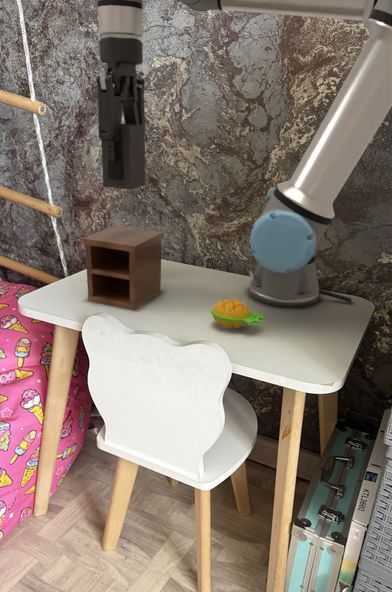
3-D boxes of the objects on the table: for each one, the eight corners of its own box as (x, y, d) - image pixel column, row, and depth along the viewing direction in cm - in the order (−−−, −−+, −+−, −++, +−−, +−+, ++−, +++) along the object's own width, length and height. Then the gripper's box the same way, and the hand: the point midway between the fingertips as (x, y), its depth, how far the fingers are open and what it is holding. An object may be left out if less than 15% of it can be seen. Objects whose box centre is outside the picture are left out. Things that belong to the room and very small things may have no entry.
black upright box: (145, 185, 103) (144, 124, 98) (131, 189, 98) (129, 126, 93) (118, 182, 105) (116, 123, 100) (103, 186, 100) (100, 124, 95)
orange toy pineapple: (218, 316, 104) (220, 291, 101) (266, 326, 100) (269, 300, 98) (204, 329, 98) (205, 302, 96) (255, 340, 94) (257, 313, 92)
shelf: (162, 291, 115) (163, 232, 109) (135, 310, 105) (135, 246, 99) (116, 283, 119) (114, 225, 113) (86, 301, 108) (82, 238, 102)
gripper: (127, 42, 100) (130, 169, 110) (70, 32, 84) (80, 181, 94) (163, 43, 97) (162, 172, 107) (111, 32, 81) (116, 185, 91)
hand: (124, 176), depth 101 cm, fingers closed on black upright box, 6 cm apart
